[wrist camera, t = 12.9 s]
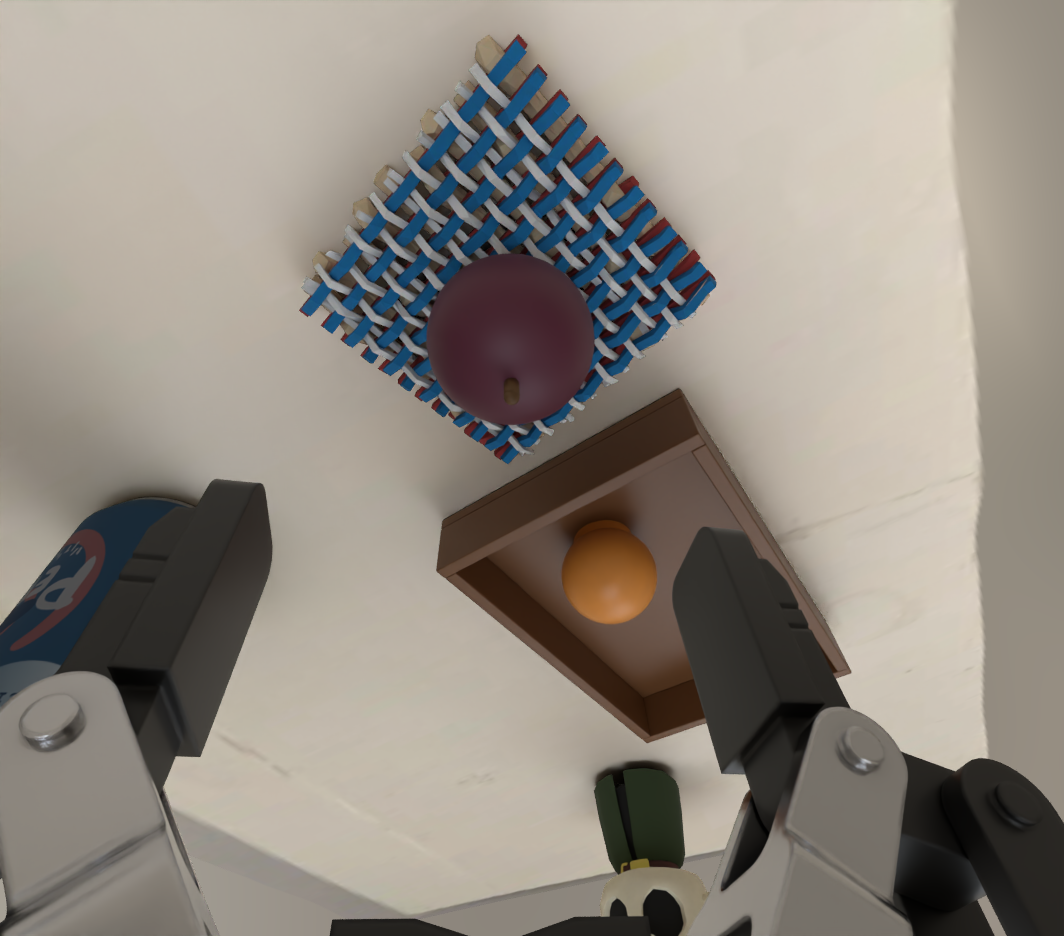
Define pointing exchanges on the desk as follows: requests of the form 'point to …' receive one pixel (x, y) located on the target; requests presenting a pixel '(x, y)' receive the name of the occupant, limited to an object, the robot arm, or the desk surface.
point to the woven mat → (507, 239)
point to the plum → (510, 339)
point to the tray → (651, 515)
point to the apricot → (608, 573)
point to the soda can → (72, 591)
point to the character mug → (647, 852)
